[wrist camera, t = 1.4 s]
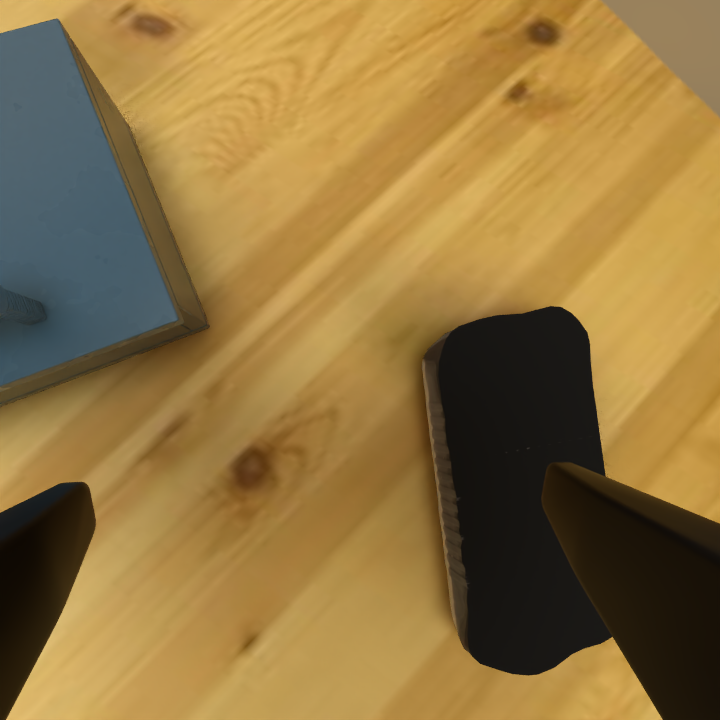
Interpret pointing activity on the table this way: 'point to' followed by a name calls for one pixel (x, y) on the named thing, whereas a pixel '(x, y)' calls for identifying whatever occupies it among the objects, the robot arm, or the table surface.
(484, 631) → the black sponge
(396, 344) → the table surface
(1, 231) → the blue-grey box lid
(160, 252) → the compartment
